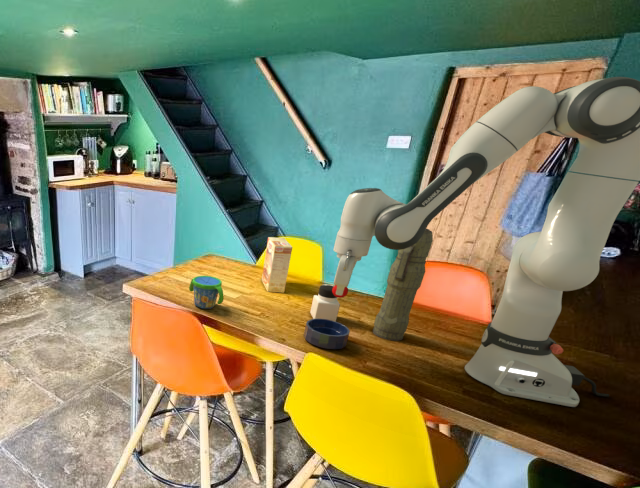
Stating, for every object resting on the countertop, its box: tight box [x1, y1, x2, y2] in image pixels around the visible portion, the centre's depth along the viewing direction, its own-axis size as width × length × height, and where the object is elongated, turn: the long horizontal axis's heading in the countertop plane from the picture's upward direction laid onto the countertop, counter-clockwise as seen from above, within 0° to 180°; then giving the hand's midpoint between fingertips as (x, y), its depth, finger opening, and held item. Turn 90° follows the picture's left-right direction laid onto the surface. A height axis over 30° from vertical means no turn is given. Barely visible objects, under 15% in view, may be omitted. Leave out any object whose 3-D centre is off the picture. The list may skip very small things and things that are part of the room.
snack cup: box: [188, 275, 224, 310], centre depth 149 cm, size 16×10×10 cm
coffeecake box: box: [261, 236, 293, 293], centre depth 168 cm, size 15×7×20 cm, turn 172°
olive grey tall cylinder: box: [372, 228, 434, 342], centre depth 125 cm, size 9×12×35 cm
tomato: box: [332, 285, 349, 299], centre depth 120 cm, size 4×4×4 cm
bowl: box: [303, 318, 351, 350], centre depth 126 cm, size 12×12×5 cm
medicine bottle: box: [309, 283, 341, 322], centre depth 141 cm, size 7×7×12 cm
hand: (339, 291), depth 120 cm, fingers closed on tomato, 4 cm apart
